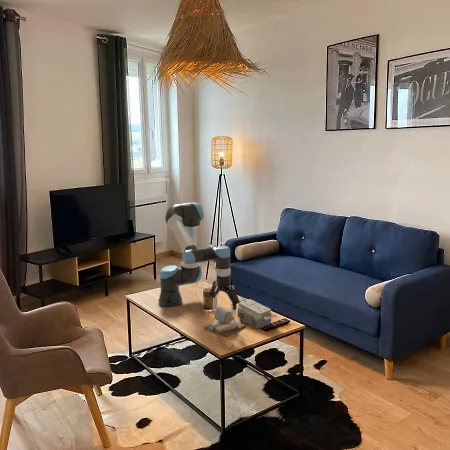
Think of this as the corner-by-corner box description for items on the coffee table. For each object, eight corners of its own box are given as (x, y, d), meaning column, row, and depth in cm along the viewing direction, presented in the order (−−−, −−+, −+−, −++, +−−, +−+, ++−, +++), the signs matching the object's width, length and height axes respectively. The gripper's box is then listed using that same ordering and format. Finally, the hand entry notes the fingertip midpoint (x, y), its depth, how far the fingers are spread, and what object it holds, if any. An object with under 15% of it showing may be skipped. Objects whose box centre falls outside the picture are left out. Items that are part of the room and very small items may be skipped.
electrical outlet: (245, 310, 271) (245, 295, 268) (279, 328, 249) (280, 312, 247) (230, 316, 263) (230, 300, 261) (263, 334, 242) (264, 317, 240)
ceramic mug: (224, 326, 242) (224, 312, 241) (214, 322, 248) (213, 308, 246) (238, 320, 250) (238, 307, 248) (227, 316, 255) (227, 303, 254)
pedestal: (204, 329, 248) (204, 322, 247) (223, 319, 260) (223, 313, 259) (226, 337, 238) (226, 330, 237) (245, 327, 249) (245, 320, 249)
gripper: (202, 272, 248) (203, 308, 253) (236, 281, 232) (237, 319, 236) (211, 268, 253) (212, 304, 258) (245, 277, 237) (246, 315, 242)
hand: (224, 311), depth 247 cm, fingers open, 13 cm apart
